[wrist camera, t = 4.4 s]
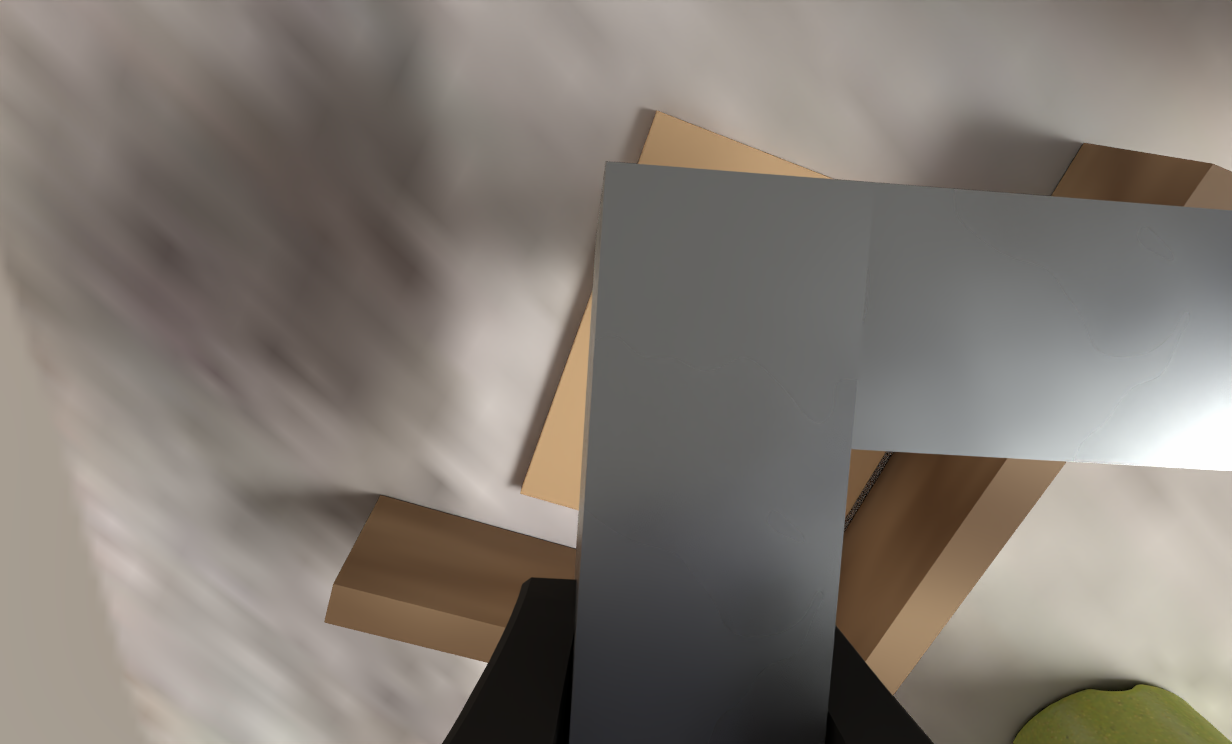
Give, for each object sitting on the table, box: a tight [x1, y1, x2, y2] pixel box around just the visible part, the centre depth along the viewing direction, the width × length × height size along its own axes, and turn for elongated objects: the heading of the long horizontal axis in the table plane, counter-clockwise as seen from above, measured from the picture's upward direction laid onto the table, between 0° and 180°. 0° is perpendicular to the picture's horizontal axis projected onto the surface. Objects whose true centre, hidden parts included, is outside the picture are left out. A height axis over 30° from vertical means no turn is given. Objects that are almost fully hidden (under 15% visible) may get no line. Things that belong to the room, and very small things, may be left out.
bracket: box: [567, 161, 1232, 744], centre depth 9 cm, size 8×6×5 cm
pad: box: [520, 111, 886, 518], centre depth 17 cm, size 10×8×1 cm
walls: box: [324, 143, 1232, 695], centre depth 15 cm, size 15×14×3 cm
